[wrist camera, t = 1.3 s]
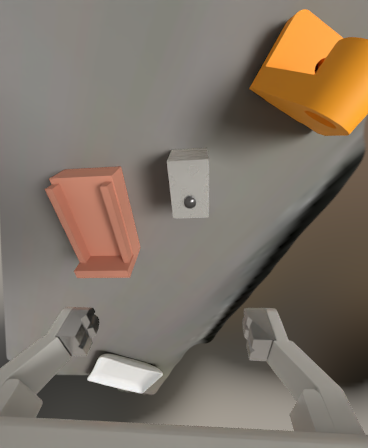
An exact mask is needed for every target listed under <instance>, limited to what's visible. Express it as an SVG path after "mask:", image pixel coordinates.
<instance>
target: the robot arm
mask: <svg viewBox="0 0 368 448" xmlns="http://www.w3.org/2000/svg"><path fill="white" fill-rule="evenodd" d="M94 313H95V310H94V308H85V307H65V308H64V309H63V310H62V311H61V313H60V314H59V316H58V317H57V319H56V320H55V322H54V323H53V325H52V326H51V328H50V330H49V331H48V333H47V334H46V336H45V337H41V338H40V339H39V340H37V341H36V342H35V343H33V344H32V345H31V346H29V347H28V348H27V349H25V350H24V351H23V352H21V353H20V354H19V355H17V356H16V357H15V358H14V359H12V360H11V361H10V362H8V363H7V364H6V365H4V366H3V367H2V368H0V448H368V435H365V433H364V431H363V429H362V427H361V425H360V423H359V421H358V419H357V417H356V415H355V413H354V411H353V409H352V407H351V405H350V403H349V402H348V399H347V397H346V395H345V393H344V392H343V390H342V389H341V388H340V387H339V386H338V385H337V384H336V383H335V382H334V381H333V380H332V379H331V378H330V377H329V376H328V375H327V374H326V373H325V372H324V371H323V370H322V369H321V368H319V367H318V366H317V365H316V364H315V363H314V362H313V361H312V360H311V359H310V358H309V357H308V356H307V355H306V354H305V353H304V352H303V351H302V350H301V349H300V348H299V347H298V346H296V344H295V343H293V342H292V341H289V340H288V338H287V335H286V332H285V330H284V327H283V325H282V322H281V320H280V317H279V315H278V312H277V310H276V309H275V308H245V309H244V315H245V317H243V332H244V337H245V338H246V339H247V345H246V347H247V351H248V356H249V360H256V361H267V363H268V364H269V365H270V367H271V368H272V369H273V371H274V372H275V373H276V374H277V376H278V377H279V379H280V380H281V381H282V383H283V384H284V385H285V387H286V388H287V389H288V390H289V392H290V393H291V395H292V396H293V397H294V398H295V400H296V401H297V402H296V404H295V406H294V408H293V410H292V411H291V413H290V418H291V422H292V425H293V429H294V431H282V430H262V429H243V428H223V427H203V426H184V425H164V424H145V423H125V422H105V421H86V420H66V419H47V418H36V416H37V414H38V412H39V410H40V408H41V406H42V400H41V399H40V398H39V397H38V396H37V395H36V394H37V393H38V392H39V391H40V390H41V389H42V388H43V387H44V385H45V384H46V383H47V382H48V381H49V380H50V379H51V378H52V377H53V376H54V375H55V374H56V373H57V372H58V371H59V370H60V369H61V368H62V367H63V366H64V364H65V363H66V362H67V361H68V360H69V359H70V358H71V356H87V355H88V352H89V350H90V348H91V346H92V343H93V342H92V338H93V337H94V336H95V335H96V334H97V331H98V329H99V318H98V316H96V315H95V314H94Z"/></svg>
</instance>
